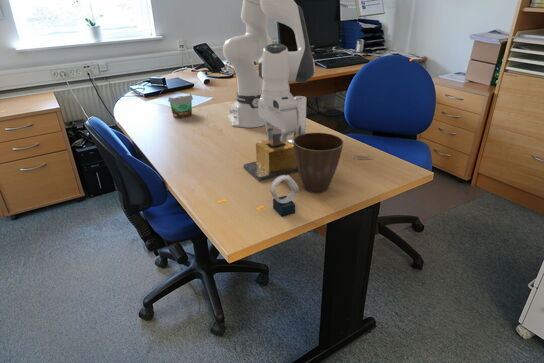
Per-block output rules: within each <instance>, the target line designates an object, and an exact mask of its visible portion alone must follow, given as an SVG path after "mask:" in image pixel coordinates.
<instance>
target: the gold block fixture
mask: <svg viewBox="0 0 544 363" xmlns="http://www.w3.org/2000/svg"><path fill="white" fill-rule="evenodd" d="M293 97H294V98H295V99H296V101H297V103H298V106H297V107H296V108H295V109H296V112H297V127H296V130H295V132H292V133H291V134H290V135H289V134H288V136H287V141H286V142H285V143H284V146H281V147H276V148H270V147H269V140H263V139H262V140H259V142H256V143H255V150H256V151H255V155H256V159H255V160H256V161H251V162H248V163H244V164H243V170H245V171H246V172H248V173H249V174H250V175H251V176H252V177H253V178H255V179H256V181H258V182H263V181H266V180H270V179H275V178H277V177H278V176H281V175H286V176H287V175H289V174H293V173H297V172H298V173H299V170H298V166H297V161H296V156H295V149H294V139H295V138H296V137H297V136H299V135H302V134H306V125H307V97H306V96H302V95H295V96H293Z"/></svg>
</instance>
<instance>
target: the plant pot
mask: <svg viewBox="0 0 544 363" xmlns="http://www.w3.org/2000/svg"><path fill="white" fill-rule="evenodd" d="M343 146H344V141H343V139H342V138H341V137H339V136H337V135H334V134H331V133H326V132H325V133H324V132H307V133H306V134H302V135H299V136H297V137H296V138H295V139H294V149H295V156H296V161H297V166H298V170H299V171H298V173H299V176H300V179H301V183H302V185H303V187H304V189H305V190H306V191H307V192H308V193H313V194H318V193H319V194H320V193H325V192H326V191H327V190H328V189H329V187H330V185H331V182H332V180H333V178H334V176H335V173H336V170H337V169H338V168H337V167H338V165H339V162H340V159H341V155H342V150H343Z"/></svg>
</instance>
